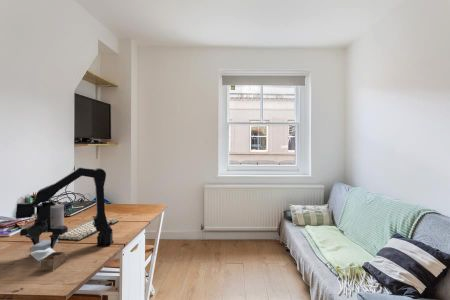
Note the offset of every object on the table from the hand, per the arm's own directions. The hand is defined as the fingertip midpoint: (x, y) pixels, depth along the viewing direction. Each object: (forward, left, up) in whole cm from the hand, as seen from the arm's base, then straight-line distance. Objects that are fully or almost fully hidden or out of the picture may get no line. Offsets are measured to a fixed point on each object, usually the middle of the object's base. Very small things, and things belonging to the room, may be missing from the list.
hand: (44, 248), depth 125 cm
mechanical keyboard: (-4, -38, -4) cm, 38 cm away
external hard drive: (0, 0, -4) cm, 4 cm away
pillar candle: (+20, -43, -3) cm, 48 cm away
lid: (0, 0, +1) cm, 1 cm away
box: (-11, +12, -3) cm, 17 cm away
